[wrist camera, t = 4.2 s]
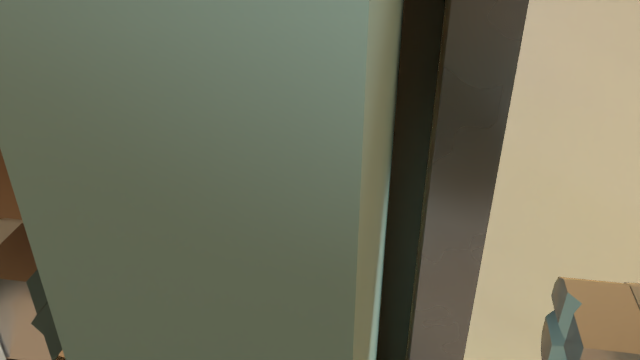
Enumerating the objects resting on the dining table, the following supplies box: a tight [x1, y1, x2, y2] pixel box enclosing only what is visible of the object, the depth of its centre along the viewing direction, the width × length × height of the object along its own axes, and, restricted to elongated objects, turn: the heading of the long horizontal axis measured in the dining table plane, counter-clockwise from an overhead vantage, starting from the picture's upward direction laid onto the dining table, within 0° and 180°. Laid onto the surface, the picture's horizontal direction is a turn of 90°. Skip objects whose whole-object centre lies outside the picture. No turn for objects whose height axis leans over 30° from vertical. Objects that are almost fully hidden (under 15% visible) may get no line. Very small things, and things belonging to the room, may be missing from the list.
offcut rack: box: [6, 0, 529, 360], centre depth 12 cm, size 15×20×7 cm
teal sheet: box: [0, 0, 404, 360], centre depth 10 cm, size 2×14×9 cm, turn 0°
